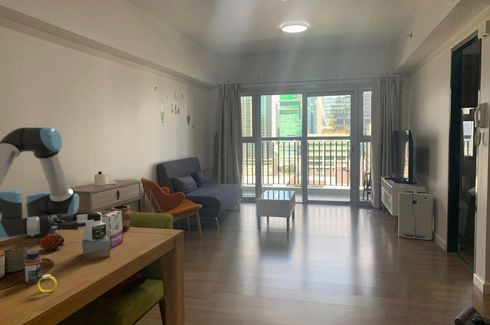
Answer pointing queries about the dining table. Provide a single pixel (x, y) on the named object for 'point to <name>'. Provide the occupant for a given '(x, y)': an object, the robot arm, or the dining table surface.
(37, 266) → the supplement bottle
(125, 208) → the decorative planter
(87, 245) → the slate block
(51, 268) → the dining table surface
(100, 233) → the medicine bottle
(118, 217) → the candy bar box
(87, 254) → the clear shallow container
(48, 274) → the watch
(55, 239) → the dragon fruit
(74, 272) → the dining table surface
